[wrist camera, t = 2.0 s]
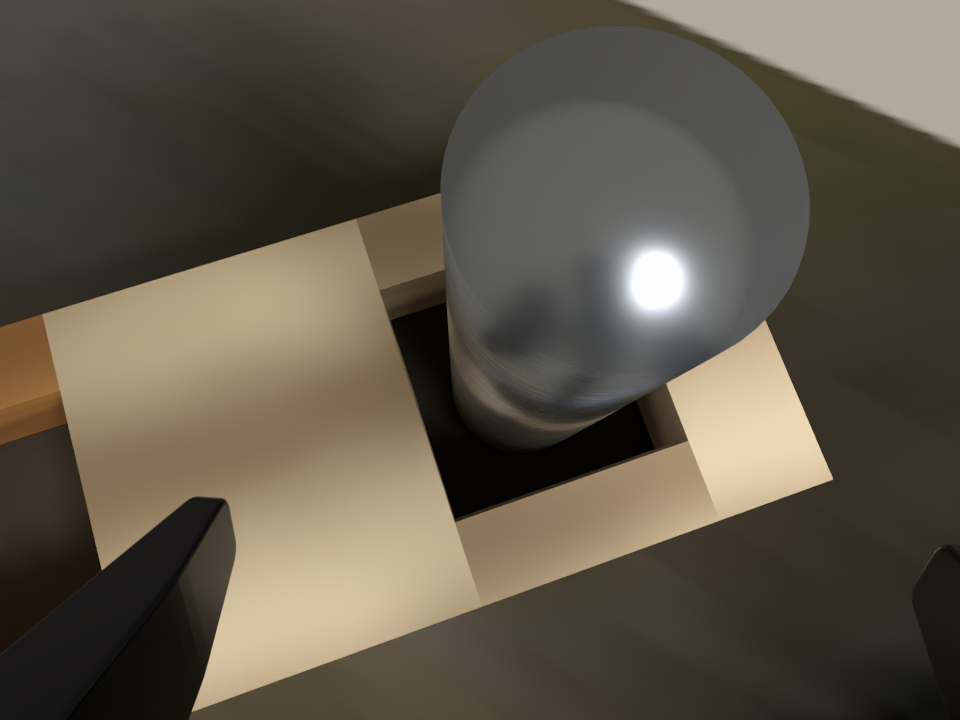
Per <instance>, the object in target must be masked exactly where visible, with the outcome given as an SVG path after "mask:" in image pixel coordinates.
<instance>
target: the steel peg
mask: <svg viewBox="0 0 960 720" xmlns="http://www.w3.org/2000/svg"><path fill="white" fill-rule="evenodd" d="M809 213H810V201H809V191H808V181H807V177H806V173H805V169H804V164H803V160H802V157H801V155H800V152H799V150H798V147H797V144H796V142H795V139H794V137H793V135H792V133H791V131H790V130H789V128H788V126H787V124H786V122H785V120H784V118H783V117H782V116H781V114H780V113H779V111H778V110H777V108H776V107H775V106H774V104H773V103H772V101H771V100H770V99H769V98H768V97H767V95H766V94H765V93H764V92H763V91H762V90H761V89H760V88H759V87H758V86H757V85H756V83H755V82H754V81H752V80H751V79H750V78H749V77H748V76H747V75H745V74H744V73H743V72H742V71H741V70H740V69H738V68H737V67H736V66H734V65H733V64H732V63H730V62H729V61H727V60H726V59H724V58H723V57H721V56H720V55H718V54H716V53H714V52H713V51H711V50H709V49H707V48H705V47H703V46H701V45H699V44H697V43H695V42H692V41H689V40H687V39H684V38H681V37H679V36H676V35H673V34H669V33H665V32H661V31H657V30H653V29H646V28H638V27H631V26H602V27H592V28H583V29H579V30H574V31H570V32H565V33H562V34H559V35H556V36H553V37H550V38H547V39H545V40H542V41H540V42H538V43H536V44H534V45H532V46H530V47H528V48H526V49H524V50H522V51H520V52H519V53H517V54H516V55H514V56H513V57H511V58H510V59H508V60H507V61H505V62H504V63H503V64H501V65H500V66H499V67H498V68H497V69H496V70H495V71H494V72H492V73H491V74H490V75H489V76H488V77H487V78H486V79H485V80H484V81H483V82H482V84H481V85H480V86H479V87H478V88H477V89H476V91H475V92H474V93H473V94H472V95H471V97H470V99H469V100H468V102H467V103H466V105H465V106H464V108H463V109H462V111H461V113H460V114H459V116H458V119H457V121H456V123H455V125H454V127H453V129H452V132H451V134H450V137H449V141H448V144H447V147H446V151H445V154H444V159H443V166H442V173H441V216H442V233H443V249H444V266H445V282H446V299H447V315H448V332H449V349H450V365H451V382H452V393H453V399H454V403H455V406H456V409H457V411H458V414H459V415H460V417H461V419H462V421H463V422H464V424H465V425H466V426H467V428H468V429H469V430H470V431H471V432H472V433H473V434H474V435H475V436H476V437H477V438H479V439H480V440H481V441H483V442H484V443H486V444H488V445H489V446H491V447H494V448H496V449H499V450H502V451H506V452H511V453H533V452H538V451H542V450H545V449H547V448H550V447H552V446H554V445H556V444H558V443H559V442H561V441H563V440H565V439H567V438H569V437H570V436H572V435H574V434H576V433H578V432H579V431H581V430H583V429H585V428H587V427H588V426H590V425H592V424H594V423H596V422H597V421H599V420H601V419H603V418H605V417H606V416H608V415H610V414H612V413H614V412H615V411H617V410H619V409H621V408H623V407H624V406H626V405H628V404H630V403H632V402H634V401H635V400H637V399H639V398H641V397H643V396H644V395H646V394H648V393H650V392H652V391H653V390H655V389H657V388H659V387H661V386H662V385H664V384H666V383H668V382H670V381H671V380H673V379H675V378H677V377H679V376H680V375H682V374H684V373H686V372H688V371H689V370H691V369H693V368H695V367H697V366H698V365H700V364H702V363H704V362H706V361H708V360H709V359H711V358H713V357H715V356H717V355H718V354H720V353H722V352H723V351H725V350H727V349H729V348H730V347H732V346H734V345H735V344H737V343H739V342H740V341H741V340H743V339H744V338H745V337H746V336H748V335H749V334H750V333H751V332H753V331H754V330H755V329H756V328H758V327H759V326H760V325H761V324H762V322H763V321H764V320H765V319H766V318H767V317H768V316H769V315H770V314H771V313H772V312H773V311H774V310H775V308H776V307H777V305H778V304H779V302H780V301H781V300H782V298H783V297H784V295H785V294H786V292H787V291H788V289H789V287H790V285H791V283H792V281H793V279H794V277H795V275H796V273H797V271H798V268H799V265H800V262H801V259H802V256H803V253H804V250H805V246H806V240H807V235H808V229H809Z"/></svg>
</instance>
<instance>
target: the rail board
mask: <svg viewBox="0 0 960 720" xmlns="http://www.w3.org/2000/svg"><path fill="white" fill-rule="evenodd" d="M445 302H447V299H446V282H445V266H444V249H443V233H442V216H441V193H439V194H436V195H432V196H429V197H426V198H423V199H419V200H416V201H413V202H409V203H406V204H403V205H400V206H396V207H393V208H390V209H386V210H383V211H380V212H377V213H373V214H370V215H367V216H363V217H360V218H357V219H354V220H350V221H347V222H344V223H340V224H337V225H334V226H331V227H327V228H324V229H321V230H317V231H314V232H311V233H308V234H304V235H301V236H298V237H294V238H291V239H288V240H285V241H281V242H278V243H275V244H271V245H268V246H265V247H262V248H258V249H255V250H252V251H248V252H245V253H242V254H239V255H235V256H232V257H229V258H225V259H222V260H219V261H216V262H212V263H209V264H206V265H202V266H199V267H196V268H193V269H189V270H186V271H183V272H179V273H176V274H173V275H170V276H166V277H163V278H160V279H157V280H153V281H150V282H147V283H143V284H140V285H137V286H134V287H130V288H127V289H124V290H120V291H117V292H114V293H111V294H107V295H104V296H101V297H97V298H94V299H91V300H88V301H84V302H81V303H78V304H74V305H71V306H68V307H65V308H61V309H58V310H55V311H51V312H48V313H45V314H42V315H38V316H35V317H32V318H28V319H25V320H22V321H19V322H15V323H12V324H9V325H5V326H2V327H0V445H1V444H4V443H7V442H10V441H14V440H17V439H20V438H23V437H26V436H29V435H32V434H35V433H39V432H42V431H45V430H48V429H51V428H54V427H57V426H60V425H64V424H67V423H68V427H69V431H70V436H71V440H72V444H73V449H74V453H75V457H76V461H77V466H78V470H79V474H80V479H81V483H82V487H83V491H84V496H85V500H86V504H87V509H88V513H89V517H90V522H91V526H92V530H93V534H94V539H95V543H96V547H97V552H98V556H99V560H100V564H101V569H102V570H103V569H104V568H105V567H107V566H108V565H109V564H110V563H111V562H113V561H114V560H115V559H116V558H117V557H119V556H120V555H121V554H122V553H124V552H125V551H126V550H127V549H128V548H130V547H131V546H132V545H133V544H135V543H136V542H137V541H138V540H139V539H141V538H142V537H143V536H144V535H145V534H147V533H148V532H149V531H150V530H152V529H153V528H154V527H155V526H156V525H158V524H159V523H160V522H161V521H162V520H164V519H165V518H166V517H167V516H169V515H170V514H171V513H172V512H173V511H175V510H176V509H177V508H178V507H179V506H181V505H182V504H183V503H184V502H186V501H187V500H188V499H190V498H192V497H195V496H204V497H219V498H223V499H225V500H226V501H227V502H228V504H229V507H230V513H231V518H232V523H233V529H234V534H235V539H236V556H235V561H234V565H233V569H232V573H231V577H230V581H229V585H228V588H227V592H226V596H225V600H224V604H223V608H222V612H221V616H220V619H219V623H218V627H217V631H216V635H215V639H214V643H213V647H212V650H211V654H210V658H209V662H208V665H207V669H206V672H205V676H204V679H203V682H202V685H201V688H200V690H199V693H198V696H197V699H196V701H195V704H194V707H193V709H192V712H193V711H195V710H198V709H201V708H204V707H206V706H209V705H212V704H215V703H217V702H220V701H223V700H226V699H229V698H231V697H234V696H237V695H240V694H242V693H245V692H248V691H251V690H253V689H256V688H259V687H262V686H264V685H267V684H270V683H273V682H275V681H278V680H281V679H284V678H286V677H289V676H292V675H295V674H297V673H300V672H303V671H306V670H309V669H311V668H314V667H317V666H320V665H322V664H325V663H328V662H331V661H333V660H336V659H339V658H342V657H344V656H347V655H350V654H353V653H355V652H358V651H361V650H364V649H366V648H369V647H372V646H375V645H377V644H380V643H383V642H386V641H389V640H391V639H394V638H397V637H400V636H402V635H405V634H408V633H411V632H413V631H416V630H419V629H422V628H424V627H427V626H430V625H433V624H435V623H438V622H441V621H444V620H446V619H449V618H452V617H455V616H457V615H460V614H463V613H466V612H468V611H471V610H474V609H477V608H480V607H482V606H485V605H488V604H491V603H493V602H496V601H499V600H502V599H504V598H507V597H510V596H513V595H515V594H518V593H521V592H524V591H526V590H529V589H532V588H535V587H537V586H540V585H543V584H546V583H548V582H551V581H554V580H557V579H560V578H562V577H565V576H568V575H571V574H573V573H576V572H579V571H582V570H584V569H587V568H590V567H593V566H595V565H598V564H601V563H604V562H606V561H609V560H612V559H615V558H617V557H620V556H623V555H626V554H628V553H631V552H634V551H637V550H640V549H642V548H645V547H648V546H651V545H653V544H656V543H659V542H662V541H664V540H667V539H670V538H673V537H675V536H678V535H681V534H684V533H686V532H689V531H692V530H695V529H697V528H700V527H703V526H706V525H708V524H711V523H714V522H717V521H720V520H722V519H725V518H728V517H731V516H733V515H736V514H739V513H742V512H744V511H747V510H750V509H753V508H755V507H758V506H761V505H764V504H766V503H769V502H772V501H775V500H777V499H780V498H783V497H786V496H788V495H791V494H794V493H797V492H800V491H802V490H805V489H808V488H811V487H813V486H816V485H819V484H822V483H824V482H827V481H830V480H833V478H832V476H831V473H830V471H829V469H828V466H827V464H826V462H825V459H824V457H823V454H822V452H821V450H820V447H819V445H818V443H817V440H816V438H815V436H814V433H813V431H812V429H811V426H810V424H809V422H808V419H807V417H806V415H805V412H804V410H803V408H802V405H801V403H800V401H799V398H798V396H797V394H796V391H795V389H794V387H793V384H792V382H791V380H790V377H789V375H788V373H787V370H786V368H785V365H784V363H783V361H782V358H781V356H780V354H779V351H778V349H777V347H776V344H775V342H774V340H773V337H772V335H771V333H770V330H769V328H768V326H767V323H766V321H765V320H764V321H763V322H762V324H761V325H760V326H759V327H758V328H756V329H755V330H754V331H753V332H751V333H750V334H749V335H748V336H746V337H745V338H744V339H743V340H741V341H740V342H739V343H737V344H735V345H734V346H732V347H730V348H729V349H727V350H725V351H723V352H722V353H720V354H718V355H717V356H715V357H713V358H711V359H709V360H708V361H706V362H704V363H702V364H700V365H698V366H697V367H695V368H693V369H691V370H689V371H688V372H686V373H684V374H682V375H680V376H679V377H677V378H675V379H673V380H671V381H670V382H668V383H666V384H664V385H662V386H661V387H659V388H657V389H655V390H653V391H652V392H650V393H648V394H646V395H644V396H643V397H641V398H639V399H637V400H636V402H637V404H638V407H639V409H640V412H641V415H642V417H643V420H644V422H645V425H646V428H647V430H648V433H649V435H650V438H651V441H652V443H653V446H654V448H655V449H654V450H651V451H648V452H645V453H642V454H640V455H637V456H634V457H631V458H628V459H625V460H622V461H620V462H617V463H614V464H611V465H608V466H605V467H602V468H600V469H597V470H594V471H591V472H588V473H585V474H582V475H579V476H577V477H574V478H571V479H568V480H565V481H562V482H559V483H557V484H554V485H551V486H548V487H545V488H542V489H539V490H537V491H534V492H531V493H528V494H525V495H522V496H519V497H517V498H514V499H511V500H508V501H505V502H502V503H499V504H496V505H494V506H491V507H488V508H485V509H482V510H479V511H476V512H474V513H471V514H468V515H465V516H462V517H459V518H456V519H455V516H454V513H453V510H452V507H451V504H450V501H449V498H448V495H447V492H446V489H445V486H444V483H443V480H442V476H441V473H440V470H439V467H438V464H437V461H436V458H435V455H434V452H433V449H432V446H431V443H430V440H429V437H428V434H427V430H426V427H425V424H424V421H423V418H422V415H421V412H420V409H419V406H418V403H417V400H416V397H415V394H414V391H413V388H412V385H411V381H410V378H409V375H408V372H407V369H406V366H405V363H404V360H403V357H402V354H401V351H400V348H399V345H398V342H397V339H396V336H395V332H394V329H393V326H392V323H391V320H392V319H395V318H398V317H402V316H405V315H408V314H411V313H414V312H417V311H420V310H423V309H427V308H430V307H433V306H436V305H439V304H442V303H445Z"/></svg>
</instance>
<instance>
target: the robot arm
mask: <svg viewBox="0 0 960 720" xmlns="http://www.w3.org/2000/svg"><path fill="white" fill-rule="evenodd" d="M235 556H236V539H235V534H234V529H233V523H232V518H231V513H230V507H229V504H228V502H227V501H226V500H225V499H223V498H219V497H204V496H195V497H192V498H190V499H188V500H187V501H186V502H184V503H183V504H182V505H181V506H179V507H178V508H177V509H176V510H175V511H173V512H172V513H171V514H170V515H169V516H167V517H166V518H165V519H164V520H162V521H161V522H160V523H159V524H158V525H156V526H155V527H154V528H153V529H152V530H150V531H149V532H148V533H147V534H145V535H144V536H143V537H142V538H141V539H139V540H138V541H137V542H136V543H135V544H133V545H132V546H131V547H130V548H128V549H127V550H126V551H125V552H124V553H122V554H121V555H120V556H119V557H117V558H116V559H115V560H114V561H113V562H111V563H110V564H109V565H108V566H107V567H105V568H104V569H103V570H102V571H100V572H99V573H98V574H97V575H96V576H94V577H93V578H92V579H91V580H90V581H88V582H87V583H86V584H85V585H83V586H82V587H81V588H80V589H79V590H77V591H76V592H75V593H74V594H73V595H71V596H70V597H69V598H68V599H66V600H65V601H64V602H63V603H62V604H60V605H59V606H58V607H57V608H56V609H54V610H53V611H52V612H51V613H49V614H48V615H47V616H46V617H45V618H43V619H42V620H41V621H40V622H39V623H37V624H36V625H35V626H34V627H32V628H31V629H30V630H29V631H28V632H26V633H25V634H24V635H23V636H22V637H20V638H19V639H18V640H17V641H15V642H14V643H13V644H12V645H11V646H9V647H8V648H7V649H6V650H4V651H3V652H2V653H1V654H0V720H189V717H190V715H191V712H192V709H193V707H194V704H195V701H196V699H197V696H198V693H199V690H200V688H201V685H202V682H203V679H204V676H205V672H206V669H207V665H208V662H209V658H210V654H211V650H212V647H213V643H214V639H215V635H216V631H217V627H218V623H219V619H220V616H221V612H222V608H223V604H224V600H225V596H226V592H227V588H228V585H229V581H230V577H231V573H232V569H233V565H234V561H235ZM912 602H913V607H914V610H915V613H916V616H917V619H918V623H919V626H920V629H921V632H922V635H923V639H924V642H925V645H926V648H927V652H928V655H929V658H930V661H931V664H932V668H933V671H934V674H935V677H936V680H937V684H938V687H939V690H940V693H941V696H942V700H943V703H944V706H945V709H946V711H947V714H948V717H949V720H960V546H957V545H943V546H941V547H939V548H938V549H937V550H936V551H935V552H934V554H933V555H932V557H931V558H930V560H929V561H928V563H927V565H926V566H925V568H924V569H923V571H922V572H921V574H920V576H919V577H918V579H917V580H916V582H915V584H914V586H913V590H912Z"/></svg>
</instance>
